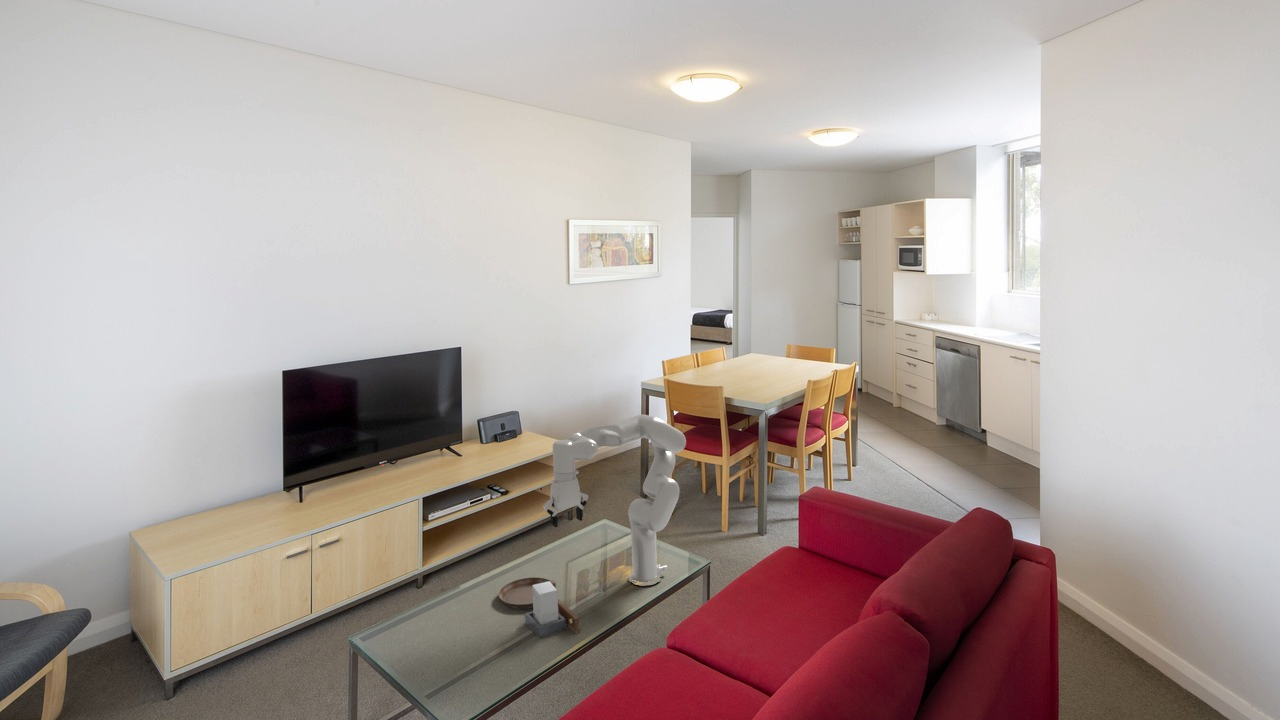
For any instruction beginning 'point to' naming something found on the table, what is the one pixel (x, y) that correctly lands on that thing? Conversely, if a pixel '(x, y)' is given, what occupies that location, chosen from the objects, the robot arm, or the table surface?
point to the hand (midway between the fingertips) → (567, 522)
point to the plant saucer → (520, 592)
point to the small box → (545, 603)
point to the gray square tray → (547, 628)
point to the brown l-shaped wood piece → (568, 615)
